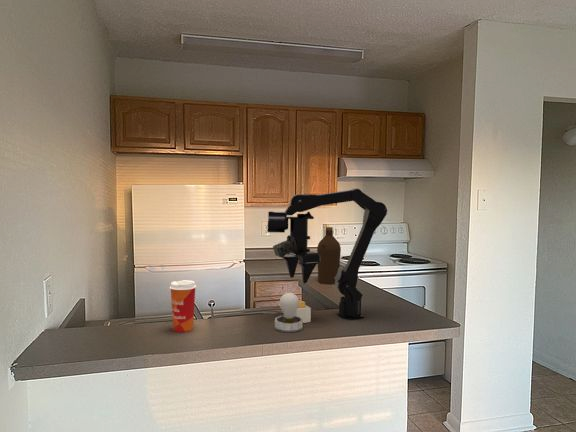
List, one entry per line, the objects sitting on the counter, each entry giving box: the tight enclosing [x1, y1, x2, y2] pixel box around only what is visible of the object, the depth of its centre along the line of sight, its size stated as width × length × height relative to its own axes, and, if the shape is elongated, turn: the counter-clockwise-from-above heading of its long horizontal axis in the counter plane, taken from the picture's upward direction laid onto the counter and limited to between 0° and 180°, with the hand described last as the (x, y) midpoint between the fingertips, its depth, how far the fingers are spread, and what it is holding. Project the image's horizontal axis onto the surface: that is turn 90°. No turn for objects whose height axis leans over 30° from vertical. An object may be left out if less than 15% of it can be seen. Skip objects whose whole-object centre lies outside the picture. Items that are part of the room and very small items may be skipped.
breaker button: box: [298, 300, 306, 308], centre depth 135 cm, size 2×2×3 cm
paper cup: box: [168, 279, 197, 333], centre depth 125 cm, size 8×8×14 cm
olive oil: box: [316, 226, 342, 285], centre depth 192 cm, size 11×11×25 cm
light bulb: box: [279, 292, 300, 323], centre depth 127 cm, size 6×6×10 cm
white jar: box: [294, 304, 312, 324], centre depth 135 cm, size 5×5×5 cm
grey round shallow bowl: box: [274, 315, 304, 334], centre depth 128 cm, size 8×8×3 cm
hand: (298, 280), depth 139 cm, fingers open, 9 cm apart
